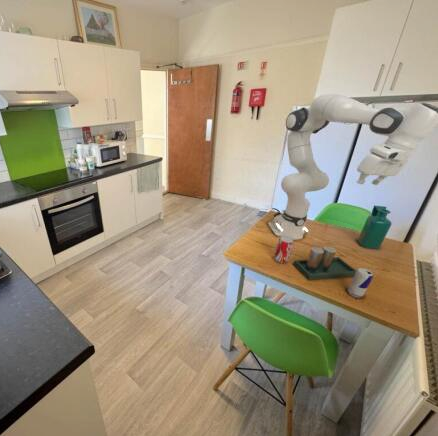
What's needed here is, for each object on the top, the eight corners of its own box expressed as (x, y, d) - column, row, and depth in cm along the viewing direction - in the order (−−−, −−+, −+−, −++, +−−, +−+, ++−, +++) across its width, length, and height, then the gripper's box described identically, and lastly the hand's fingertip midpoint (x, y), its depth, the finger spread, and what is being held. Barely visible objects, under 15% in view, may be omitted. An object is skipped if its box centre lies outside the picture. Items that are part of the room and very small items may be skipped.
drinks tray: (293, 264, 122) (294, 260, 121) (337, 260, 123) (338, 257, 122) (308, 279, 112) (310, 275, 110) (356, 275, 113) (358, 271, 112)
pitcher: (380, 250, 130) (398, 214, 120) (361, 247, 133) (377, 212, 123) (373, 240, 138) (389, 206, 128) (355, 238, 141) (370, 204, 131)
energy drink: (365, 298, 101) (377, 277, 95) (351, 297, 102) (362, 275, 96) (358, 289, 105) (369, 268, 100) (344, 288, 106) (354, 267, 101)
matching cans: (302, 267, 119) (308, 247, 113) (323, 265, 119) (330, 245, 114) (308, 273, 114) (316, 253, 109) (330, 272, 115) (339, 251, 109)
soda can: (270, 255, 129) (276, 235, 123) (284, 255, 128) (290, 235, 122) (276, 264, 122) (282, 242, 116) (291, 263, 122) (297, 242, 116)
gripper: (402, 150, 94) (375, 180, 102) (369, 146, 87) (343, 179, 96) (419, 157, 89) (390, 188, 98) (386, 153, 83) (357, 187, 91)
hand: (366, 183), depth 97 cm, fingers open, 8 cm apart
